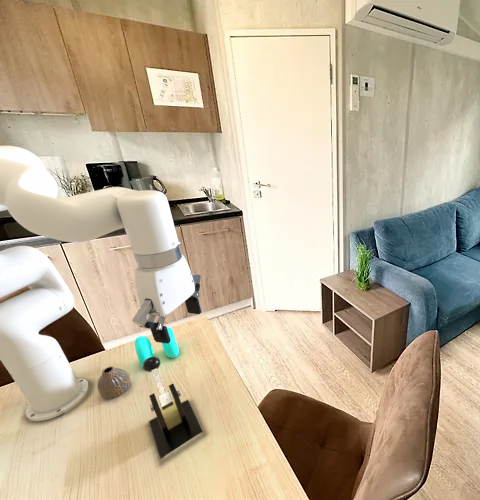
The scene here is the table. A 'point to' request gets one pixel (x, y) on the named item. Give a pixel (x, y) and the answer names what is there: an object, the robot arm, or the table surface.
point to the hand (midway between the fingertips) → (180, 326)
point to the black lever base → (177, 434)
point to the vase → (113, 382)
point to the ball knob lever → (158, 381)
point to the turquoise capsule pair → (146, 349)
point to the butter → (171, 416)
